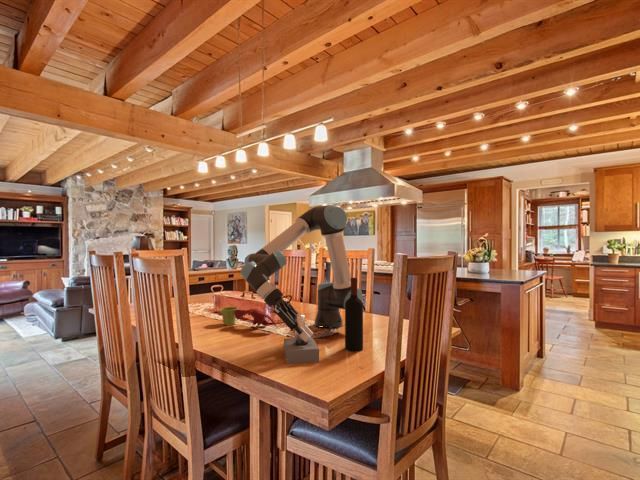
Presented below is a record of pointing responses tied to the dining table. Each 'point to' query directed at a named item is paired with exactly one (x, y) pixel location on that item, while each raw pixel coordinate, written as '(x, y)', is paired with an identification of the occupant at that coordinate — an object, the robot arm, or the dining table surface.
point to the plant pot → (228, 315)
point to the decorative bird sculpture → (254, 316)
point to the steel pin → (301, 321)
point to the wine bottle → (354, 320)
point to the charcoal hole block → (301, 351)
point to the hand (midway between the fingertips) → (309, 337)
